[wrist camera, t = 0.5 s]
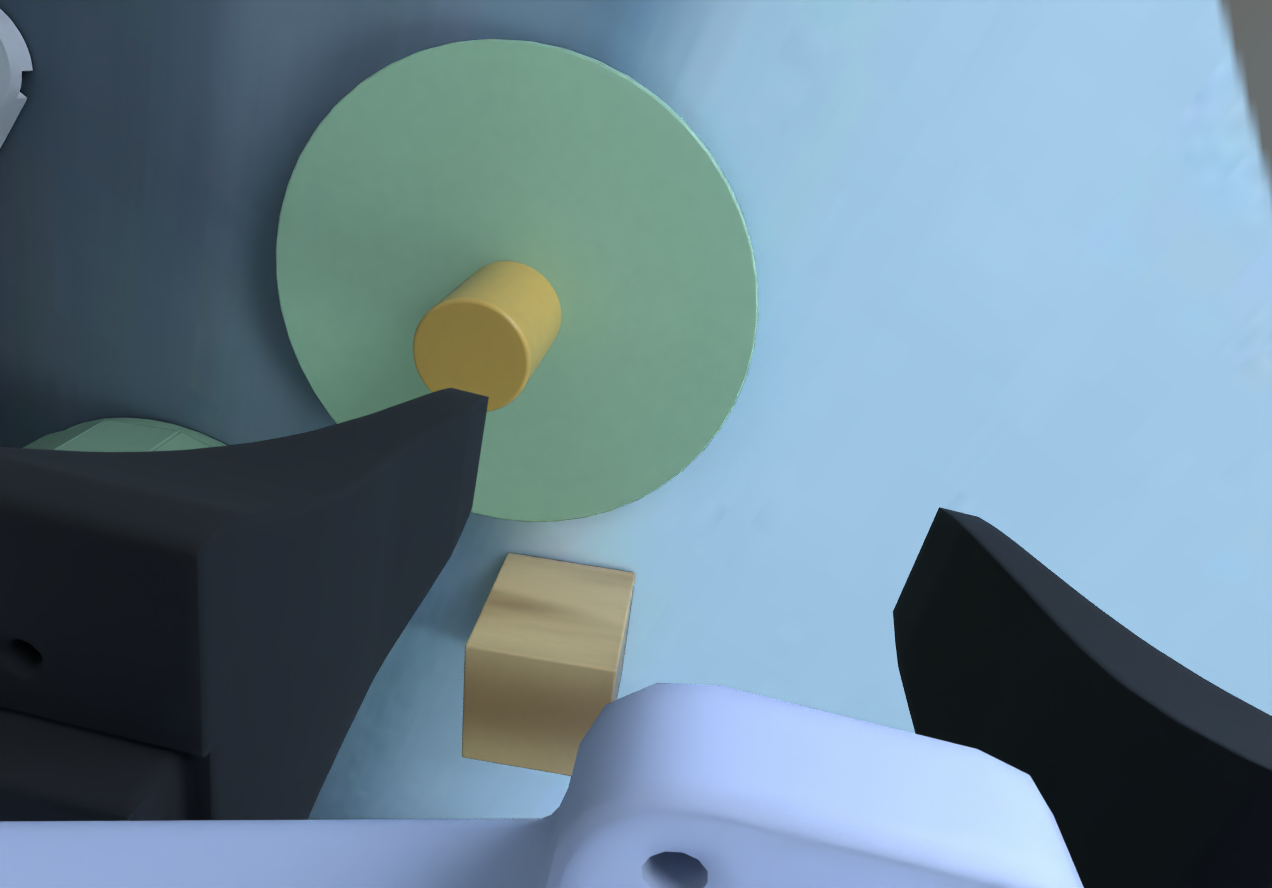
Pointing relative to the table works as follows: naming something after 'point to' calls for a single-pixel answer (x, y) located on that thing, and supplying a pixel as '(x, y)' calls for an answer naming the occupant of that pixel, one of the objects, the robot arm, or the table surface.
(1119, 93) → the table surface
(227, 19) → the table surface
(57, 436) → the tin
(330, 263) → the lid
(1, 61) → the phone holder
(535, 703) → the block
